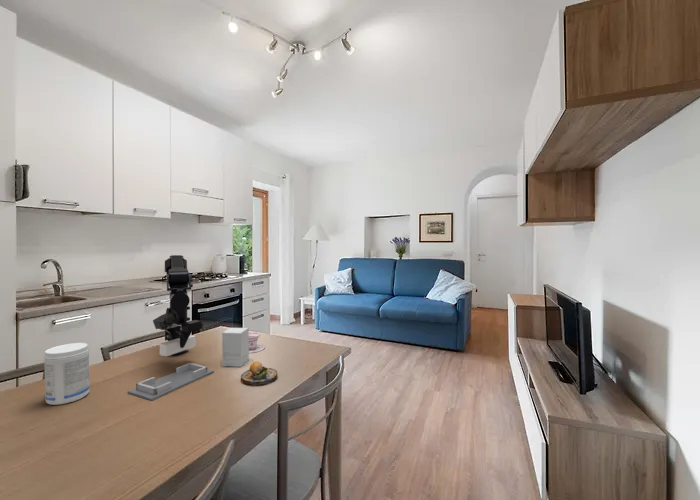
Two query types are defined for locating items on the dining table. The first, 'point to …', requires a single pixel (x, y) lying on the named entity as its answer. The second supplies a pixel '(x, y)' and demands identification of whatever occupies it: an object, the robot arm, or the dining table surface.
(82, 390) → the supplement tub
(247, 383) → the burger
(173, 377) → the grey bracket base
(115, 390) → the dining table surface
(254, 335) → the teacup
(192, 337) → the slat
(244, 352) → the supplement box
